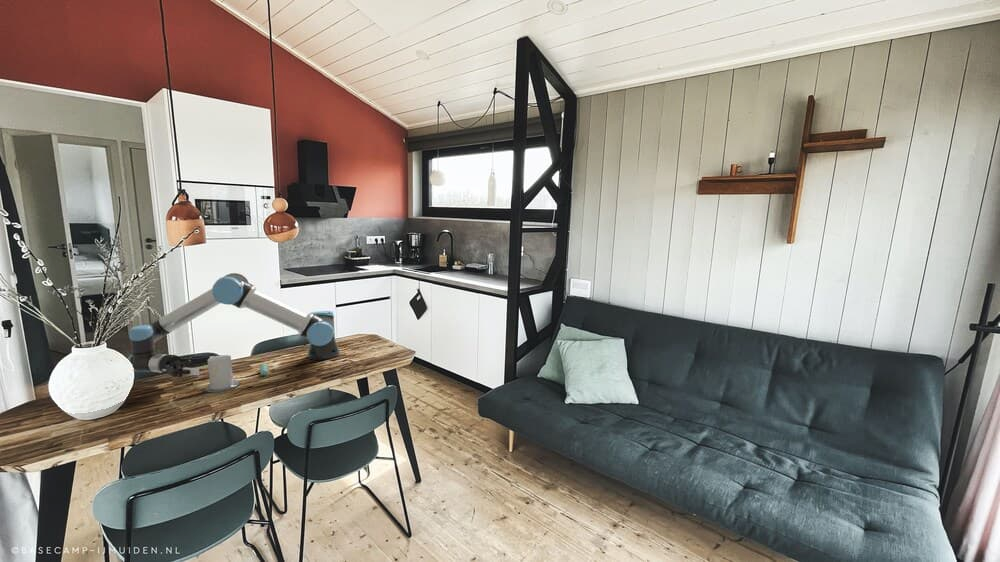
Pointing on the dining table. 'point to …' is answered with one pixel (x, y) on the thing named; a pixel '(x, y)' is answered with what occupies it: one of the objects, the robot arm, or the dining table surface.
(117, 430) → the dining table surface
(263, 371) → the marble
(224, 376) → the cup
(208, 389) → the metal disc
